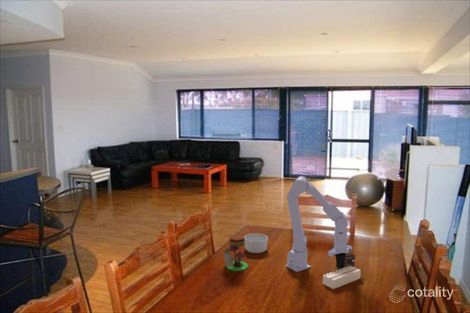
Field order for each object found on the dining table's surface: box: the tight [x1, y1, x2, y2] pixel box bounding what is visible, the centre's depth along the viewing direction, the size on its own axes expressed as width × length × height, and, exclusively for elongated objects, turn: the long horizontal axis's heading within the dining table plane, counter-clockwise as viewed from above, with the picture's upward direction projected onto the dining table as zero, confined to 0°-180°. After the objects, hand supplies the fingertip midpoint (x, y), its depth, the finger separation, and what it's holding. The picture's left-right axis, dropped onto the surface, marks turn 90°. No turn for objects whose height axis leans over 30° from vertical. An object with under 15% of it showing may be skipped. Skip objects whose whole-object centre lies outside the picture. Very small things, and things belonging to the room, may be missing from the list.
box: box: [339, 251, 356, 269], centre depth 183 cm, size 6×6×7 cm
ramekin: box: [244, 233, 269, 254], centre depth 208 cm, size 13×13×7 cm
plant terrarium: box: [224, 234, 249, 272], centre depth 186 cm, size 12×13×15 cm
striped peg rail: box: [322, 266, 362, 290], centre depth 170 cm, size 18×6×4 cm, turn 124°
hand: (339, 267), depth 181 cm, fingers closed, pressing on box
